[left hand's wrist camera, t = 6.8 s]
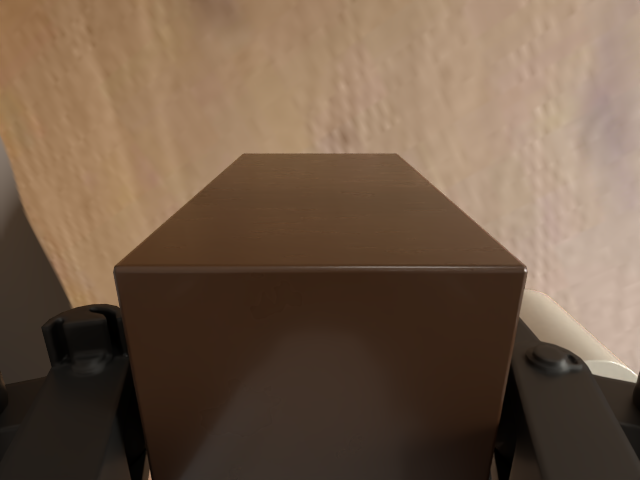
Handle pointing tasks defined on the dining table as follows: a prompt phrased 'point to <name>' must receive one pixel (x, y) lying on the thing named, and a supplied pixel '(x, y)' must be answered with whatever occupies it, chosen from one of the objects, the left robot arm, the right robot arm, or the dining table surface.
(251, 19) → the dining table surface
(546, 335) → the white canister
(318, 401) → the walnut beam
